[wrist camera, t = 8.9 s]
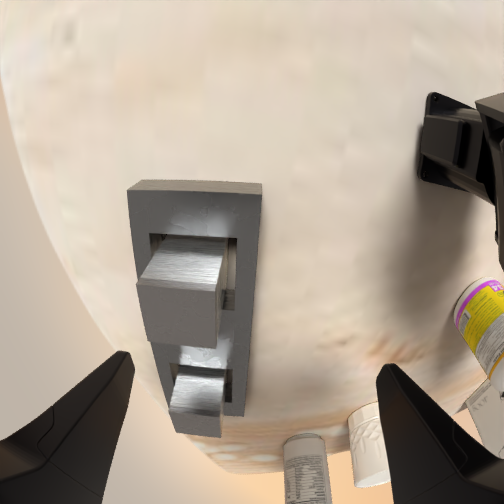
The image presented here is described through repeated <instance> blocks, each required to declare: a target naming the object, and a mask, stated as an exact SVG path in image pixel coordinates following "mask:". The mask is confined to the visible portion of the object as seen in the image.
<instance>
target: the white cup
mask: <svg viewBox="0 0 504 504" xmlns="http://www.w3.org/2000/svg"><path fill="white" fill-rule="evenodd" d="M348 427H349V433H350V437H349V441H350V451H351V458H352V467H353V475H354V485H355V487H359V488H363V487H371V486H376V485H379V484H383V483H386V482H389V481H391V479H390V472H389V466H388V460H387V454H386V448H385V443H384V438H383V433H382V428H381V423H380V416H379V407H378V402H375V403H371V404H368V405H366V406H363V407H361V408H359V409H358V410H356V411H355V412H353V413H352V414H351V415H350V417H349V418H348Z"/></svg>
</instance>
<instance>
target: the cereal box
mask: <svg viewBox="0 0 504 504" xmlns="http://www.w3.org/2000/svg"><path fill="white" fill-rule="evenodd" d="M465 403H466V405H467V408H468V410H469V412H470V414H471V416H472V419H473V421H474V423H475V425H476V428H477V430H478V433H479V435H480V437H481V439H482V442H483V445H484V447H485V448H486V449H488V450H489V451H490V452H491V453H493V454H494V455H495V456H497V457H499V458H502V459H504V392H501V391H497V390H496V389H495V388H494V387H493V386H492V384H491V382H490V380H489V379H487V380H486V381H485V382H484V383H483V384H482V385H481V386H480V387H479V388H478V389H477V390H476V391H475V392H474V393H473V394H472V395H471V396H470V397H469V398H468V399H467V400H466V402H465Z"/></svg>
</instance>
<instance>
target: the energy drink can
mask: <svg viewBox="0 0 504 504" xmlns="http://www.w3.org/2000/svg"><path fill="white" fill-rule="evenodd" d="M283 457H284V480H285V481H284V483H285V504H332V498H331V488H330V480H329V471H328V463H327V455H326V447H325V442H324V440H322V439H321V438H320V436H318V435H316V434H301V435H296V436H293V437H291V438H289V439H288V440H287V443H286V444H285V445H284V446H283Z"/></svg>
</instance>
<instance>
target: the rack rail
mask: <svg viewBox="0 0 504 504" xmlns="http://www.w3.org/2000/svg"><path fill="white" fill-rule="evenodd" d="M127 197H128V208H129V219H130V228H131V236H132V244H133V251H134V258H135V265H136V271H137V278H138V280H139V279H140V277H141V275H142V274H143V272H144V270H145V269H146V267H147V266H148V264H149V262H150V261H151V259H152V258H153V256H154V255H155V253H156V252H157V250H158V248H159V247H160V245H161V244H162V242H163V241H162V234H177V235H195V236H212V237H229V238H237V256H236V281H235V290H229V289H226V290H225V296H224V302H223V308H222V314H221V321H220V327H219V333H218V339H217V346H216V349H210V348H199V347H190V346H181V345H173V344H165V343H158V342H151V341H150V342H151V346H152V350H153V354H154V358H155V362H156V366H157V370H158V373H159V377H160V381H161V384H162V388H163V391H164V394H165V398H166V401H167V404H168V407H170V403H171V399H172V395H173V391H174V387H175V383H176V379H177V375H178V371H179V364H182V365H191V366H200V367H210V368H221V369H233V380H232V383H227V384H226V394H225V404H224V414H223V415H227V416H242V417H244V408H245V396H246V385H247V373H248V361H249V349H250V337H251V325H252V313H253V301H254V289H255V276H256V264H257V251H258V238H259V226H260V213H261V200H262V186H261V184H258V183H242V182H223V181H196V180H141V181H139V182H138V183H136V184H135V185H134V186H132V187H131V188H129V189H128V190H127Z"/></svg>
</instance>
